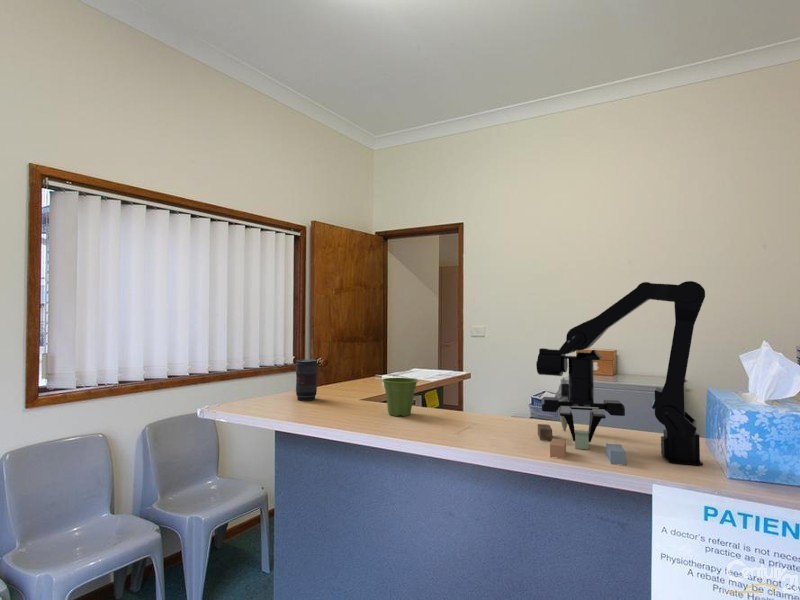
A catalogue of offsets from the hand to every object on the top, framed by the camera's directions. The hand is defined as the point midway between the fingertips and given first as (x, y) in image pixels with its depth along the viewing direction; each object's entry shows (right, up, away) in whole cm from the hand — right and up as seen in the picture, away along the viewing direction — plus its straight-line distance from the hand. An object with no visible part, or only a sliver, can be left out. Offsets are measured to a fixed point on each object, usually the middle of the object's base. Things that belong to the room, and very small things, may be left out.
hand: (581, 441), depth 113 cm
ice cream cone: (+1, -2, +15) cm, 15 cm away
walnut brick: (-6, -2, +8) cm, 10 cm away
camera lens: (-81, -4, +63) cm, 103 cm away
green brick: (0, -1, 0) cm, 1 cm away
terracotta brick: (-8, -1, -7) cm, 11 cm away
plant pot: (-45, -3, +37) cm, 58 cm away
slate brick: (+3, -1, -11) cm, 12 cm away
